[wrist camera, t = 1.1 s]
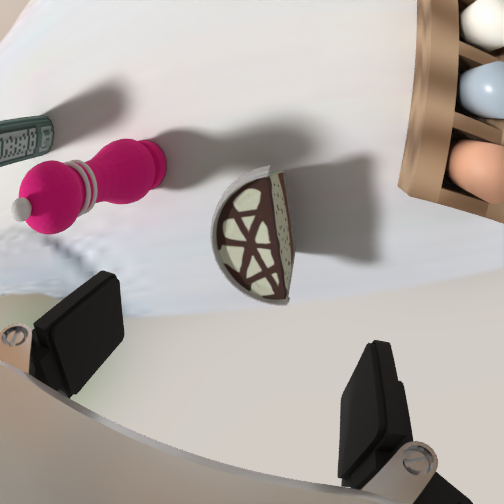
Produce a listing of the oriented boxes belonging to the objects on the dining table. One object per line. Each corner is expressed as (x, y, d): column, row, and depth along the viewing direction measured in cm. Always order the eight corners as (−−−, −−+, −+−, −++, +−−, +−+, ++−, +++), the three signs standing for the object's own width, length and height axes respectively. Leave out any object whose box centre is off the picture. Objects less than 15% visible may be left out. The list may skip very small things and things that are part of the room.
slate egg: (455, 63, 21) (484, 52, 15) (495, 80, 20) (527, 75, 14) (452, 108, 23) (481, 106, 17) (491, 124, 22) (524, 127, 16)
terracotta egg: (448, 132, 24) (478, 136, 18) (488, 147, 23) (521, 154, 17) (440, 181, 26) (466, 195, 20) (478, 193, 25) (509, 210, 19)
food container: (226, 164, 33) (190, 179, 24) (282, 156, 32) (266, 168, 23) (245, 266, 37) (221, 312, 28) (296, 263, 36) (287, 310, 27)
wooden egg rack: (417, -12, 20) (429, -29, 16) (504, 26, 18) (524, 17, 14) (397, 186, 30) (409, 196, 25) (485, 210, 28) (505, 223, 24)
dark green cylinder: (33, 114, 35) (-44, 127, 22) (56, 118, 35) (-27, 131, 21) (29, 150, 38) (-45, 172, 24) (51, 157, 37) (-29, 181, 24)
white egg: (455, 3, 17) (480, -17, 12) (494, 21, 17) (523, 7, 11) (456, 42, 19) (484, 27, 14) (495, 59, 19) (527, 51, 13)
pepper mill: (178, 147, 33) (45, 183, 15) (160, 202, 37) (40, 275, 19) (130, 128, 34) (-8, 152, 16) (115, 181, 37) (-10, 235, 19)
